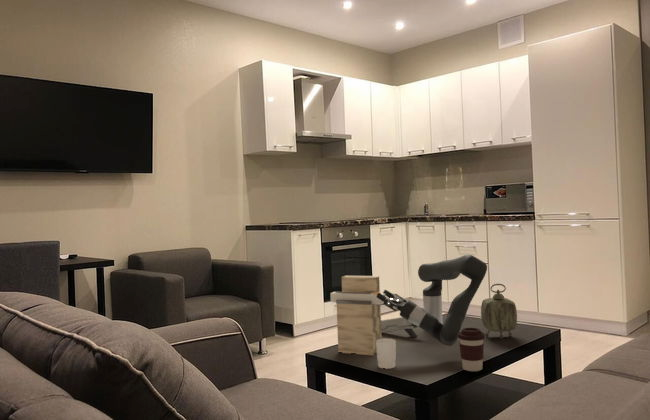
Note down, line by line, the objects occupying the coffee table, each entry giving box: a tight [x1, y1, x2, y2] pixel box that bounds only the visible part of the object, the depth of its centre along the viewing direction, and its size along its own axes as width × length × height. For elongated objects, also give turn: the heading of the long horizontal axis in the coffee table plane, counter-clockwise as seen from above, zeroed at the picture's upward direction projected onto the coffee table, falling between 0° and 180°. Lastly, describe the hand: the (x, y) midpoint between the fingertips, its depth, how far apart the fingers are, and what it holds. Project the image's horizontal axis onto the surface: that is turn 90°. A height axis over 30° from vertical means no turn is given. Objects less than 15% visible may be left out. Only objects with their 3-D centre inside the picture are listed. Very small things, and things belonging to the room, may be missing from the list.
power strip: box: [330, 291, 385, 305], centre depth 231 cm, size 4×24×4 cm, turn 66°
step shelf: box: [335, 275, 383, 356], centre depth 233 cm, size 12×16×32 cm
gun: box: [381, 316, 419, 338], centre depth 258 cm, size 2×25×10 cm, turn 53°
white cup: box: [376, 338, 397, 370], centre depth 209 cm, size 8×8×10 cm
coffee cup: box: [457, 327, 486, 372], centre depth 201 cm, size 10×10×15 cm
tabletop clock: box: [480, 283, 518, 340], centre depth 246 cm, size 14×9×25 cm, turn 88°
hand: (380, 293), depth 226 cm, fingers open, 8 cm apart
